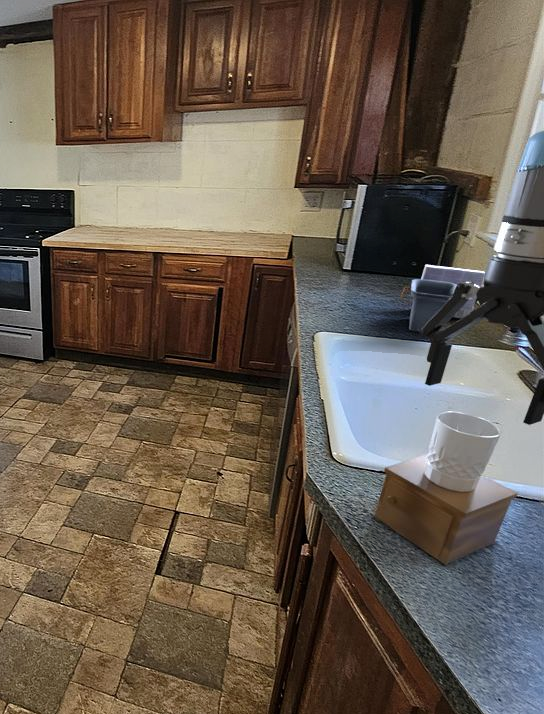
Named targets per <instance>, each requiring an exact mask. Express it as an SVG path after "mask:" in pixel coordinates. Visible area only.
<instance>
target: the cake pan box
mask: <svg viewBox="0 0 544 714" xmlns="http://www.w3.org/2000/svg"><path fill="white" fill-rule="evenodd" d="M485 273H486V271H482V270H474V269H473V270H472V269H464V268H456V267H448V266H440V265H433V264H432V265H431V264H425V265H424V268H423V271H422V275H421V277H420V279H423V280H432V281H440V282H448V283H453V284H456V285H457V284H459V283H465V282H474V283H475V285H476V286H479V287H482V285H483V283H484V276H485ZM477 303H478V299H477V297H476V295H475V296H474V297H473V298H471V299H469V300H468V301H467V302H466V304H465V305H464V306H463V307H462V308H461V309H460V310H459V311H458V312H457V313H456V314H455V315H454V316H453V317H452V318H455V319H461V318H463V317H465V316H466V315H468V313H470V312H471V311H473V310H474V309H475V305H476V304H477Z"/></svg>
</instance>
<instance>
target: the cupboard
mask: <svg viewBox="0 0 544 714" xmlns="http://www.w3.org/2000/svg"><path fill="white" fill-rule="evenodd" d="M427 456H428V453H426V454H423V455H420V456H416V457H414V458H411V459H407V460H405V461H402V462H398V463H395V464H391V465H389V466H385V467H384V470H383V472H384V473H385V477H384V480H383V484H382V487H381V491H380V495H379V498H378V501H377V506H376V508H375V511H374V515H373V517H374V518H375V519H376V520H378V521H380V522H381V523H383V524H384V525H385V526H387V527H388V528H390V529H391V530H393V531H394V532H396V533H397V534H399V535H401V536H402V537H403V538H405V539H407V540H408V541H409V542H410V543H412V544H413V545H415V546H417V547H418V548H420V549H421V550H422V551H424V552H426V554H428V555H430V556H432V557H433V558H435V560H437V561H439V562H440V563H442V564H443V565H445V566H446V565H449V564H450V563H452V562H455V561H457V560H459V559H461V558H464V557H467V556H469V555H471V554H474V553H475V552H477V551H480V550H481V549H484V548H486V547H488V546H489V547H490V546H491V545H493V544H495V542H496V539H497V536H498V534H499V533H500V529H501V528H502V524H503V522H504V520H505V517H506V515H507V512H508V510H509V507H510V505H511V502H512V500H513V499H516V498H517V496H518V494H519V492H517V491H516V490H513V489H511V488H509V487H507V486H505V485H503V484H501V483H500V482H498V481H496V480H493V479H491V478H490V477H487V476H485V475H483V474H482V475H481V477H480V479H479V482H478V484H477V486H476V488H475V489H474V490H472V491H470V492H459V491H453V490H449V489H446V488H443V487H441V486H438V485H437V484H435V483H433V482H432V481H430V480H429V479H428V478H427V477H426V475H425V467H426V463H427V459H428V458H427Z"/></svg>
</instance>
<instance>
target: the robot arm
mask: <svg viewBox="0 0 544 714" xmlns="http://www.w3.org/2000/svg"><path fill="white" fill-rule="evenodd" d="M492 250H493V251H494V252H495V253H496V254H494V255H492V256H491V257H489V260H488V264H487V267H486V270H485V276H484V280H483V283H482V285H481V287H479V286H476V285H475V283H474V282H465V283H459V284H457V286H456V288H455V290H454V293H453V295H452V297H451V298H450V299H449V300H448V301H447V302H446V303H445V304H444V306H443V307H442V308H441V309H440V310H439V311H438V312H437V313H436V314H435V315H434V316H433V317H432V318H431V319H430V321H429V322H428V323H427V324H426V325H425V326H424V327H423V328H422V329H421V330H420V332H419V334H420V336H421V337H425V338H427V339H428V340H429V342H430V345H429V349H428V352H427V355H426V362H427V363H430V364H429V369H428V371H427V374H426V379H425V381H424V384H425V385H426V386H429V387H430V386H431V387H432V386H434V385H438V384H442V380H443V377H444V374H445V371H446V366H447V363H448V360H449V357H450V353H451V351H452V347H453V344H452V343H450V340H451V339H453V338H454V337H456V336H458V335H459V334H461V333H463V332H465V331H466V330H468V329H470V328H471V327H474V326H475V325H476V324H478V323H480V322H481V321H484V320H485V319H486V320H488V323H491V324H501V325H503V326H504V327H507V328H509V329H510V328H511V329H515V328H519V331H520V332H521V334H522V335H523V336H525V337H526V339H527V341H528V344H529V345H530V347H531V349H532V351H533V353H534V354H535V356H536V358H537V360H538V362H539V364H540V365H541V368H542V369H543V370H544V319H543V316H544V130H541V131H538V132H536V133H534V134H533V135H532V136H531V137H530V138H528V140H527V142H526V145H525V148H524V150H523V153H522V155H521V159H520V161H519V164H518V167H517V168H516V171H515V175H514V178H513V181H512V186H511V189H510V192H509V196H508V199H507V202H506V206H505V209H504V213H503V217H502V220H501V222H500V225H499V229H498V232H497V236H496V239H495V241H494V245H493V248H492ZM475 295H476V297H477V299H478V301H477V303H478V304H479V306H478V307H476V308H474V309H473V311H471V312H470V313H468V315H466V316H465V317H463V318H459V319H458V320H457V321H455V322H453V323H452V324H449V326H447V327H445V325H446V324H448V322H449V321H450V320H451V319H452V318H454V317H453V316H454V315H455V314H456V313H457V312H458V311H459V310H460V309H461V308H462V307H463V306H464V305H465V304H466V302H467V301H468V300H469V299H471V298H473V297H474V296H475ZM444 327H445V328H444ZM442 328H444V329H442ZM439 330H440V332H439ZM448 342H449V343H448ZM543 418H544V377H541V378H538V382H537V384H536V387H535V389H534V392H533V394H532V398H531V401H530V402H529V405H528V408H527V411H526V413H525V416H524V419H523V421H522V422H523V424H525V425H528V426H531V425H533V424H537V423H540V422H542V420H543Z"/></svg>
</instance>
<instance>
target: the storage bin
mask: <svg viewBox="0 0 544 714" xmlns="http://www.w3.org/2000/svg"><path fill="white" fill-rule="evenodd" d="M456 286H457V285H456V284H453V283H448V282H440V281H432V280H423V279H421V278H419V279H418V278H417V279H416V278H415V279H412V280H411V284H410V286H405V287H404V288H403V290H402V293H401V296H400V299H401V300H402V299H403V298H404V296H405V292H410V297H411V298H413V300H412V305H411V311H410V314H409V315H410V316H409V327H408V329H409V331H412V332H417V333H420V330H421V329H422V328H423V327H424V326H425V325H426V324H427V323H428V322H429V321H430V319H431V318H432V317H433V316H434V315H435V314H436V313H437V312H438V311H439V310H440V309H441V308H442V307H443V306H444V304H445V303H446V302H447V301H448V300H449V299H450V298H451V297H452V295H453V293H454V290H455V288H456ZM418 329H419V330H418ZM440 331H441V329H440V330H439V332H440Z"/></svg>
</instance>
